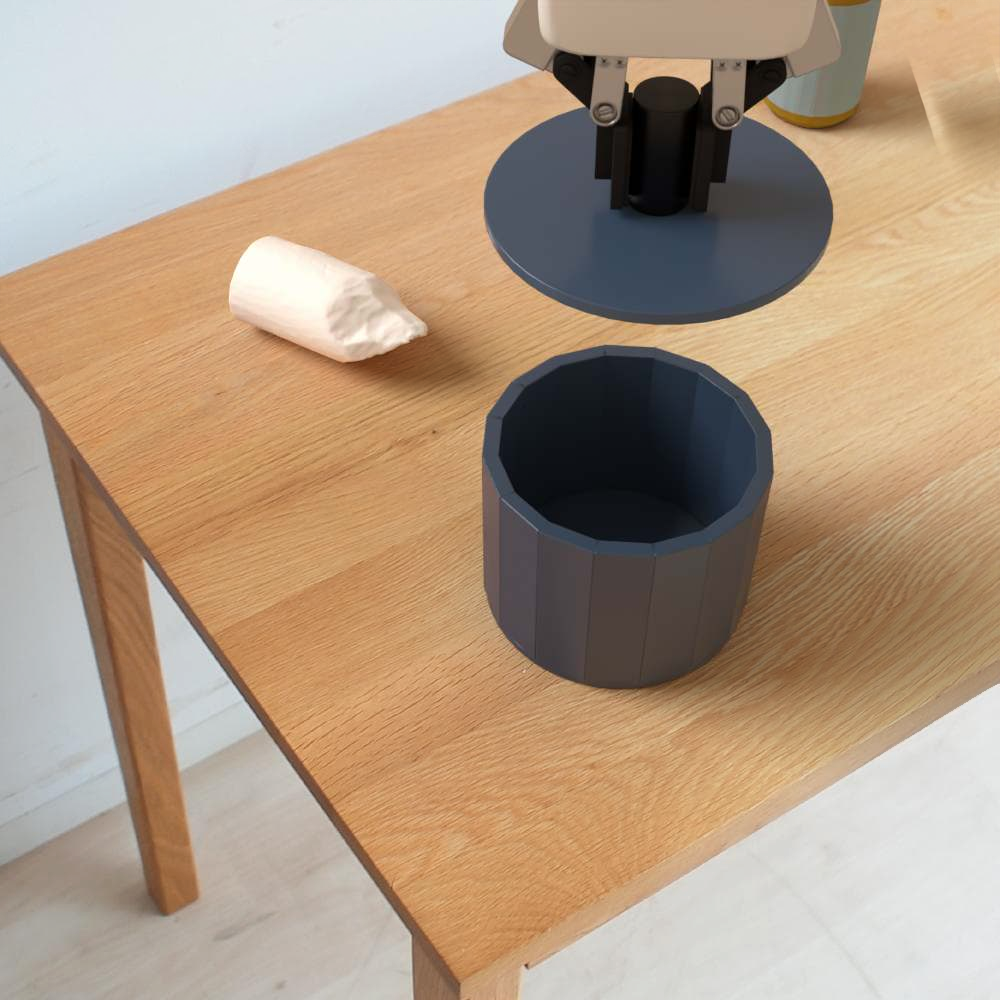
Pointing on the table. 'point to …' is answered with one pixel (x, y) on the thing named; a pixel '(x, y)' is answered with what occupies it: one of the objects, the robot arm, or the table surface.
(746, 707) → the table surface
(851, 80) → the bottle
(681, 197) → the pot lid
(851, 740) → the table surface
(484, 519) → the pot
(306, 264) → the broken white chalk
